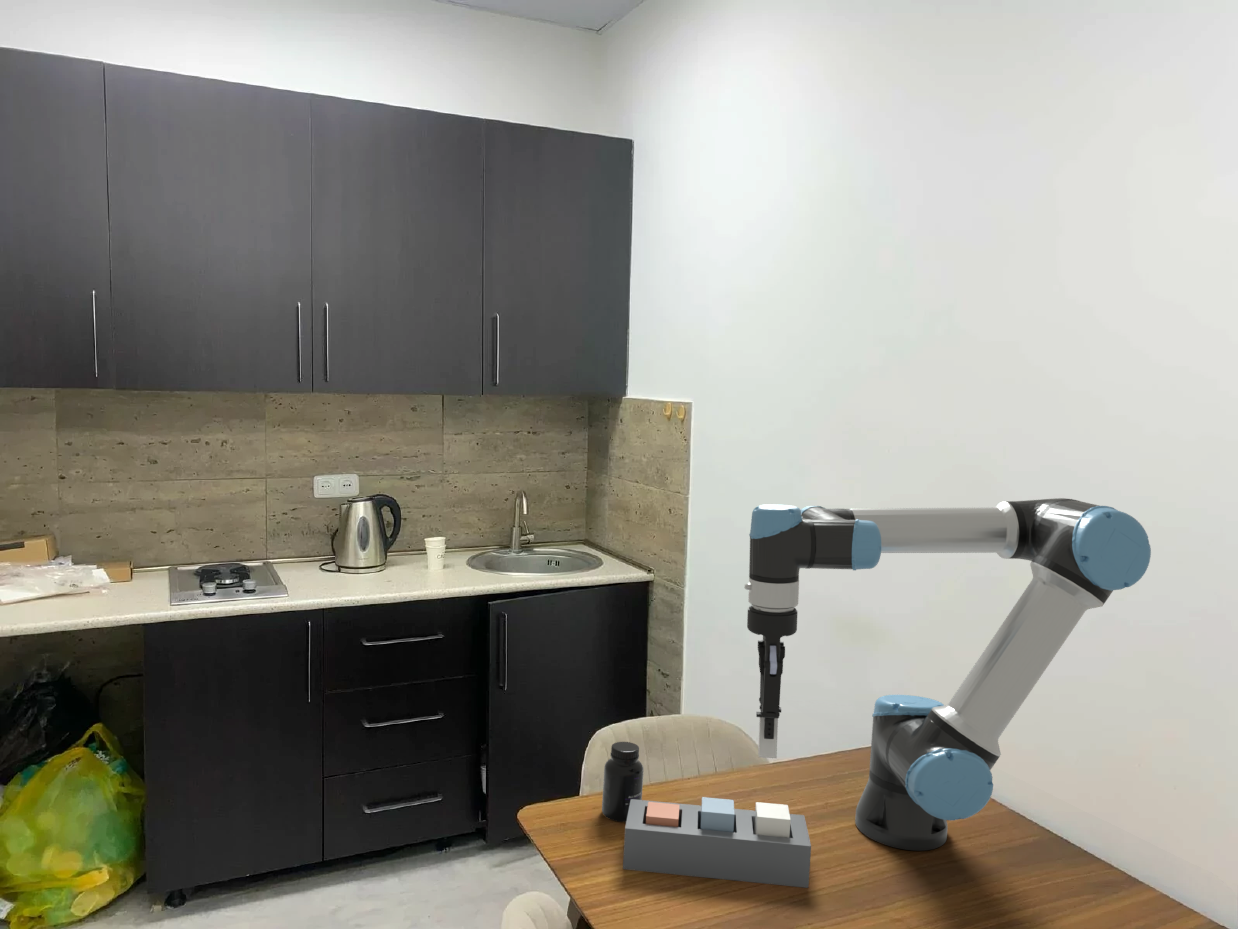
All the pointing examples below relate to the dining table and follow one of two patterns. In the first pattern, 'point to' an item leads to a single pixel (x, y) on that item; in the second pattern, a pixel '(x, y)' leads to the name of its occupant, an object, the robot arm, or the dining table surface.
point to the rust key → (662, 814)
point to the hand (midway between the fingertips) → (767, 755)
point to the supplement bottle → (622, 780)
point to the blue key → (717, 814)
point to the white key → (772, 820)
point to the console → (716, 848)
